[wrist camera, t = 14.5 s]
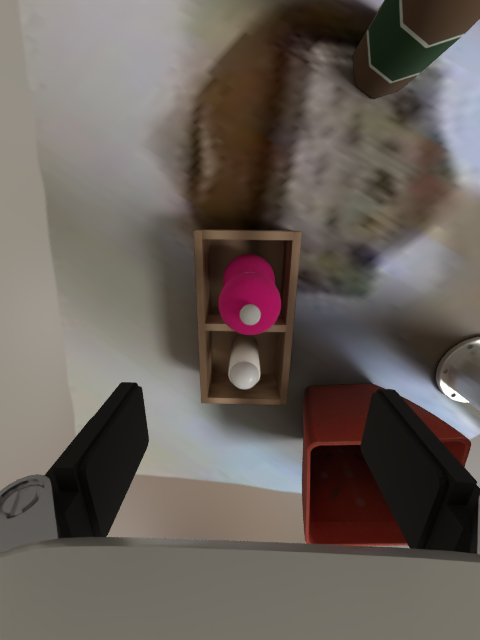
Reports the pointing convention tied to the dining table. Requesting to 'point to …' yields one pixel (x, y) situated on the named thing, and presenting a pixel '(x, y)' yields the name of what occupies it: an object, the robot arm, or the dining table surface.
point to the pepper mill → (249, 295)
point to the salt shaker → (244, 362)
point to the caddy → (217, 337)
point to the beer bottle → (408, 41)
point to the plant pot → (351, 468)
